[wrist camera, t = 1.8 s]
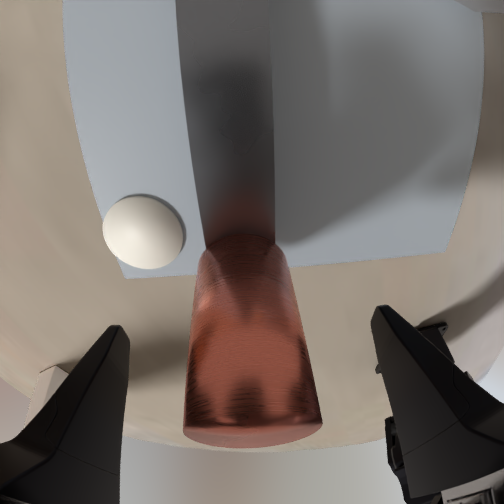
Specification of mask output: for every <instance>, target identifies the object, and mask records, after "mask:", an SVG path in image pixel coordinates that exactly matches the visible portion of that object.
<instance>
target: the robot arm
mask: <svg viewBox="0 0 504 504" xmlns="http://www.w3.org/2000/svg"><path fill="white" fill-rule="evenodd" d="M447 328H448V325H447V323H441V324H438V325H434V326H430V327H426V328H422V329H418V330H416V329H415V328H414V327H413V326H412V325H411V324H410V323H408V322H407V321H406V320H405V319H404V318H403V317H402V316H400V315H399V314H398V313H397V312H396V311H395V310H393V309H392V308H391V307H390V306H389V305H380V306H377V307H376V309H375V311H374V314H373V316H372V319H371V329H372V334H373V339H374V344H375V349H376V354H377V359H378V363H379V364H378V365H377V367H376V369H375V371H376V373H377V374H379V373H382V377H383V380H384V384H385V387H386V390H387V394H388V398H389V401H390V405H391V409H392V412H393V416H392V417H388V418H386V419H385V433H386V443H387V456H388V464H389V465H390V467H391V469H392V471H393V473H394V474H395V475H396V476H397V477H398V479H399V482H400V484H401V487H402V491H403V496H404V501H405V502H406V503H407V504H504V403H502V402H499V401H498V400H497V399H496V398H494V397H493V396H492V395H490V394H489V393H488V392H487V391H485V390H484V389H483V388H482V387H480V386H479V385H478V384H477V383H475V382H474V380H473V378H472V377H471V376H470V374H469V373H468V372H467V371H466V372H463V371H461V370H460V369H459V368H458V367H457V366H456V365H455V364H454V362H455V361H454V359H453V357H452V355H451V353H450V351H449V349H448V347H447V345H446V343H445V341H444V339H443V337H442V336H443V334H444V333H445V331H446V330H447ZM129 353H130V340H129V338H128V336H127V334H126V333H125V331H124V329H123V328H122V326H120V325H111V326H109V327H108V328H107V329H106V331H105V332H104V333H103V334H102V335H101V336H100V337H99V339H98V340H97V341H96V342H95V343H94V345H93V346H92V347H91V348H90V349H89V350H88V352H87V353H86V354H85V355H84V356H83V358H82V359H81V360H80V361H79V363H78V364H77V365H76V366H75V367H74V369H73V370H72V371H71V372H70V374H69V375H68V376H67V377H66V379H65V380H64V381H63V382H62V384H61V385H60V386H59V387H58V389H57V390H56V391H55V393H54V394H53V395H52V396H51V398H50V399H49V400H48V401H47V403H46V404H45V405H44V406H43V408H42V409H41V410H40V411H39V412H38V413H37V415H36V416H35V417H34V418H33V419H32V420H31V421H30V422H29V423H28V424H27V426H26V427H25V428H24V429H23V430H22V431H21V432H20V433H19V434H18V435H17V436H16V437H15V438H13V439H12V440H10V441H7V442H4V443H0V504H119V502H120V501H119V499H120V460H121V444H122V432H123V421H124V411H125V403H126V395H127V387H128V376H129Z"/></svg>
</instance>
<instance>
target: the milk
mask: <svg viewBox="0 0 504 504" xmlns="http://www.w3.org/2000/svg"><path fill="white" fill-rule="evenodd" d="M68 375H69V374H68V373H66V372H65V371H63V370H62V369H60V368H59V367H57V366H53V367H51V368H49V369H47V370H45V371H43V372H41V373H39V376H38V379H37V382H36V385H35V388H34V391H33V394H32V398H31V401H30V405H29V408H28V412H27V416H26V420H25V424H24V428H25V427H26V426H27V424H28V423H29V422H30V421H31V420H32V419H33V418H34V417H35V416H36V415H37V413H38V412H39V411H40V410H41V409H42V408H43V406H44V405H45V404H46V403H47V401H48V400H49V399H50V398H51V396H52V395H53V394H54V393H55V391H56V390H57V389H58V387H59V386H60V385H61V384H62V382H63V381H64V380H65V379H66V377H67V376H68ZM24 428H23V429H24Z"/></svg>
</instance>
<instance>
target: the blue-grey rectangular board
mask: <svg viewBox="0 0 504 504" xmlns="http://www.w3.org/2000/svg"><path fill="white" fill-rule="evenodd" d="M268 9H269V26H270V45H271V67H272V91H273V121H274V162H275V244H276V245H278V246H279V247H280V249H281V250H282V251H283V253H284V254H285V256H286V259H287V263H288V267H300V266H312V265H323V264H334V263H344V262H355V261H365V260H375V259H385V258H395V257H405V256H414V255H423V254H432V253H441V252H445V251H446V248H447V245H448V243H449V240H450V237H451V234H452V232H453V229H454V226H455V223H456V220H457V217H458V214H459V210H460V207H461V204H462V200H463V197H464V193H465V190H466V186H467V182H468V178H469V174H470V170H471V166H472V161H473V156H474V151H475V146H476V141H477V135H478V128H479V122H480V114H481V105H482V95H483V80H484V32H483V18H482V12H491V13H504V0H268ZM63 33H64V48H65V58H66V68H67V76H68V83H69V90H70V96H71V102H72V107H73V113H74V118H75V123H76V128H77V132H78V137H79V141H80V145H81V149H82V154H83V157H84V161H85V165H86V169H87V172H88V176H89V179H90V183H91V186H92V190H93V193H94V196H95V199H96V202H97V205H98V209H99V212H100V215H101V217H102V220H103V235H104V239H105V241H106V244H107V245H108V247H109V249H110V250H111V251H112V253H113V254H114V255H115V256H116V258H117V260H118V263H119V265H120V268H121V270H122V272H123V275H124V277H125V279H133V278H150V277H166V276H182V275H196V274H197V269H198V263H199V259H200V257H201V255H202V253H203V252H204V251H205V249H206V246H205V241H204V235H203V230H202V224H201V218H200V212H199V206H198V200H197V193H196V187H195V180H194V174H193V167H192V160H191V153H190V146H189V138H188V131H187V123H186V115H185V106H184V97H183V88H182V79H181V69H180V58H179V47H178V34H177V20H176V4H175V0H63Z"/></svg>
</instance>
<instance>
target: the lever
mask: <svg viewBox="0 0 504 504" xmlns="http://www.w3.org/2000/svg"><path fill="white" fill-rule="evenodd" d="M175 4H176V20H177V34H178V47H179V58H180V69H181V79H182V88H183V97H184V106H185V115H186V123H187V131H188V138H189V146H190V153H191V160H192V167H193V174H194V180H195V187H196V193H197V200H198V206H199V212H200V218H201V224H202V230H203V235H204V241H205V246H206V249H205V251H204V252H203V253H202V255H201V257H200V259H199V263H198V269H197V277H196V285H195V293H194V301H193V310H192V320H191V329H190V339H189V350H188V362H187V374H186V388H185V403H184V421H183V433H184V434H185V436H187V437H188V438H190V439H192V440H194V441H196V442H199V443H203V444H206V445H211V446H217V447H226V448H259V447H268V446H275V445H280V444H285V443H289V442H293V441H296V440H299V439H302V438H305V437H307V436H309V435H311V434H313V433H315V432H316V431H318V430H319V429H320V428H321V426H322V424H323V423H322V417H321V412H320V407H319V402H318V397H317V392H316V387H315V382H314V377H313V373H312V368H311V363H310V358H309V354H308V349H307V345H306V340H305V336H304V331H303V327H302V322H301V318H300V313H299V309H298V305H297V300H296V296H295V292H294V288H293V284H292V279H291V275H290V271H289V267H288V263H287V259H286V256H285V254H284V253H283V251H282V250H281V249H280V247H279V246H278V245H276V244H275V162H274V121H273V91H272V67H271V45H270V26H269V9H268V0H175Z"/></svg>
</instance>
